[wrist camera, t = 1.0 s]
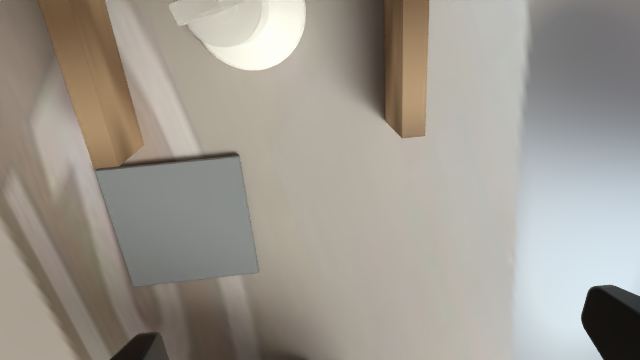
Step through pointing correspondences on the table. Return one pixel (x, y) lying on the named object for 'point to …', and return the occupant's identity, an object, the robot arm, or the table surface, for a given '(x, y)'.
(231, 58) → the chess piece
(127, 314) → the table surface
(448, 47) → the table surface
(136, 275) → the pad
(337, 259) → the table surface
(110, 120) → the wooden frame
